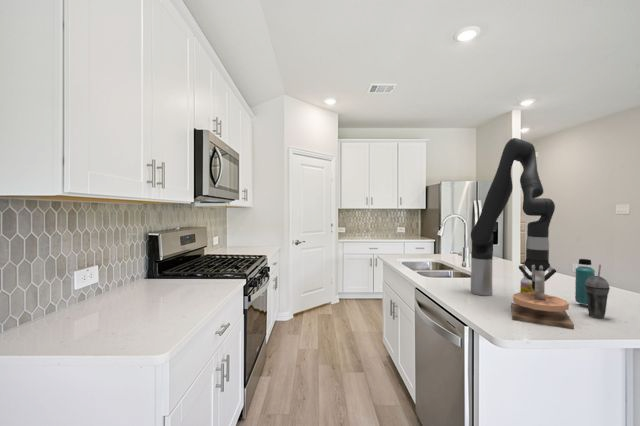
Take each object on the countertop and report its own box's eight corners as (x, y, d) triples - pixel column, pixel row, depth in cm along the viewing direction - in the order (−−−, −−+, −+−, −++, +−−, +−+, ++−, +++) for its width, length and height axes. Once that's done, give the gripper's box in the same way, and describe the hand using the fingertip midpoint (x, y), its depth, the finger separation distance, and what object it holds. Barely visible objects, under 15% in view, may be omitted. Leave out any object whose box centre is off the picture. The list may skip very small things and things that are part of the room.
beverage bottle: (598, 308, 128) (599, 260, 127) (580, 307, 129) (581, 260, 129) (588, 304, 134) (589, 258, 134) (571, 303, 136) (571, 257, 135)
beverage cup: (579, 313, 122) (579, 263, 122) (595, 312, 123) (596, 262, 123) (597, 320, 115) (597, 266, 115) (614, 319, 116) (615, 266, 115)
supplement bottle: (516, 301, 138) (517, 272, 138) (525, 299, 141) (525, 271, 141) (533, 305, 132) (533, 275, 132) (541, 303, 135) (542, 274, 135)
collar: (514, 306, 116) (514, 301, 116) (512, 295, 131) (512, 290, 131) (572, 314, 107) (572, 308, 107) (563, 301, 122) (563, 296, 122)
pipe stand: (512, 319, 116) (513, 273, 116) (511, 306, 131) (511, 265, 131) (573, 329, 107) (574, 278, 106) (564, 313, 122) (565, 269, 122)
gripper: (518, 247, 125) (517, 290, 125) (559, 250, 118) (558, 295, 118) (517, 245, 131) (516, 286, 132) (556, 248, 124) (555, 290, 125)
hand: (536, 290), depth 125 cm, fingers closed
